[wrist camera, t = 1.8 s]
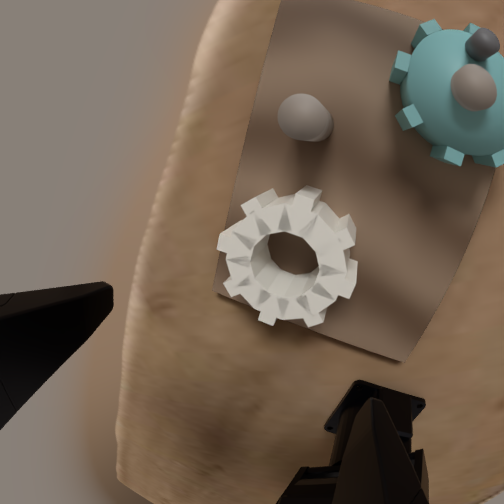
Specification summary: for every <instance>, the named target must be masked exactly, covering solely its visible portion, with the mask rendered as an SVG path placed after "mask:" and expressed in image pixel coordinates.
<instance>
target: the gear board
mask: <svg viewBox="0 0 504 504" xmlns="http://www.w3.org/2000/svg"><path fill="white" fill-rule="evenodd" d="M422 23H425V22H423V21H420V20H418V19H415V18H412V17H409V16H406V15H403V14H400V13H397V12H394V11H391V10H388V9H384V8H381V7H377V6H374V5H370V4H366V3H362V2H358V1H354V0H281V3H280V6H279V10H278V13H277V17H276V21H275V24H274V28H273V32H272V35H271V39H270V43H269V46H268V50H267V54H266V58H265V62H264V65H263V69H262V73H261V77H260V81H259V85H258V89H257V93H256V97H255V101H254V105H253V109H252V113H251V117H250V121H249V125H248V129H247V133H246V138H245V142H244V146H243V150H242V154H241V159H240V163H239V167H238V172H237V176H236V181H235V185H234V189H233V194H232V198H231V203H230V207H229V212H228V217H227V221H226V226H225V230H226V229H228V228H229V227H231V226H233V225H234V224H236V223H237V222H239V221H240V220H244V219H245V218H246V217H247V216H246V214H245V212H244V211H243V209H242V207H241V205H242V204H244V203H245V202H247V201H249V200H251V199H252V198H254V197H256V196H258V195H260V194H262V193H264V192H266V191H268V190H270V189H272V188H273V189H274V191H275V192H276V194H277V196H278V198H279V197H283V196H288V195H293V194H296V193H297V192H298V191H299V190H301V189H302V188H304V187H305V186H306V185H308V186H311V187H314V188H317V189H320V190H322V193H321V197H320V200H319V201H322V202H325V203H326V204H327V205H328V206H329V207H330V208H331V210H332V211H333V212H334V213H335V214H336V215H337V216H338V217H339V218H341V217H343V216H346V215H348V214H350V216H351V218H352V221H353V223H354V225H355V227H356V239H355V245H354V246H352V247H350V248H349V249H350V257H349V258H350V259H352V260H355V261H358V264H357V278H356V285H355V287H354V290H353V292H352V294H351V296H350V299H348V298H345V297H342V296H339V295H338V297H337V299H336V301H335V302H333V303H332V304H331V305H329V306H328V307H327V310H326V314H325V318H324V322H323V323H320V324H317V325H314V326H311V327H308V326H307V325H306V323H305V321H304V319H303V318H300V319H289V320H286V321H289V322H291V323H294V324H297V325H299V326H302V327H305V328H307V329H310V330H313V331H315V332H318V333H321V334H323V335H326V336H329V337H332V338H334V339H337V340H340V341H343V342H345V343H348V344H351V345H354V346H357V347H360V348H362V349H365V350H368V351H371V352H374V353H377V354H380V355H383V356H386V357H389V358H392V359H395V360H398V361H401V362H404V363H405V361H406V360H407V358H408V357H409V355H410V354H411V352H412V350H413V349H414V347H415V346H416V344H417V342H418V341H419V339H420V338H421V336H422V334H423V333H424V331H425V329H426V328H427V326H428V324H429V322H430V321H431V319H432V317H433V315H434V314H435V312H436V310H437V308H438V306H439V304H440V303H441V301H442V299H443V297H444V295H445V293H446V291H447V289H448V287H449V285H450V283H451V281H452V279H453V277H454V275H455V273H456V271H457V269H458V267H459V264H460V262H461V260H462V258H463V256H464V253H465V251H466V249H467V246H468V244H469V242H470V239H471V237H472V234H473V232H474V229H475V227H476V224H477V222H478V219H479V216H480V214H481V211H482V208H483V205H484V203H485V200H486V197H487V194H488V191H489V188H490V184H491V181H492V178H493V175H494V171H495V168H496V167H491V166H486V165H482V164H477V163H475V162H474V160H473V157H472V155H467V154H464V158H463V161H462V165H461V166H456V165H452V164H448V163H444V162H442V161H439V160H437V159H435V158H433V157H430V153H431V149H432V146H433V145H432V144H430V143H429V142H427V141H426V140H425V139H424V138H423V137H422V136H421V135H420V134H419V133H418V132H417V131H416V130H415V128H414V127H412V128H410V129H407V130H404V131H403V130H402V128H401V126H400V124H399V123H398V121H397V119H396V117H395V115H396V114H397V113H398V112H399V111H400V110H402V109H403V105H402V100H401V94H400V85H399V84H396V83H393V82H390V81H389V78H390V74H391V70H392V66H393V63H394V60H395V58H396V55H397V52H398V50H399V51H402V52H405V53H407V54H410V55H412V53H413V52H414V50H415V49H414V47H413V46H412V45H411V42H412V40H413V38H414V36H415V34H416V32H417V29H418V27H419V25H420V24H422ZM442 30H443V29H442ZM451 91H452V94H453V96H454V98H455V100H456V101H457V102H458V103H459V104H460V105H461V106H462V107H463V108H465V109H467V110H469V111H480V110H484V109H488V108H490V107H491V106H492V105H493V104H494V103H495V101H496V98H497V88H496V84H495V82H494V80H493V78H492V76H491V75H490V74H489V73H488V72H487V71H486V70H485V69H484V68H482V67H481V66H478V65H476V64H467V65H464V66H463V67H461V68H460V69H459V70H458V71H456V72H455V73H454V74H453V76H452V78H451ZM225 230H224V231H225ZM267 245H268V249H269V252H270V256H271V259H272V260H273V261H274V262H275V263H276V264H277V265H278V267H279V268H280V269H281V270H284V271H286V272H289V273H292V274H294V275H299V274H306V273H311V272H312V271H313V270H315V269H316V268H317V267H318V266H319V265H318V260H317V256H316V252H315V251H314V250H313V249H312V247H311V246H310V245H309V244H308V243H307V242H306V241H305V240H304V239H303V238H302V237H299V236H296V235H294V234H291V233H288V232H285V231H284V232H278V233H273V234H270V236H269V240H268V243H267ZM226 255H227V253H225V252H222V251H220V254H219V259H218V264H217V269H216V274H215V279H214V284H213V289H212V291H214V292H217V293H219V294H222V295H224V296H226V297H229V298H231V299H234V300H236V301H238V302H241V303H243V304H246V305H248V306H251V305H250V304H249V303H248V301H247V300H246V299H245V298H244V297H243V296H242V295H241V294H238V295H236V296H233V297H231V296H230V294H229V293H228V291H227V289H226V288H225V286H224V284H223V283H224V282H225V281H226V280H227V279H228V278H229V277H230V276H231V275H230V272H229V269H228V266H227V262H226ZM251 307H252V306H251Z"/></svg>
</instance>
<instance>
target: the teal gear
mask: <svg viewBox="0 0 504 504" xmlns="http://www.w3.org/2000/svg"><path fill="white" fill-rule="evenodd" d="M411 45H412V46H413V47H414V49H415V50H414V52H413V53H412V55H410V54H407V53H405V52H402V51H399V50H398V52H397V55H396V58H395V60H394V63H393V66H392V70H391V74H390V78H389V81H390V82H393V83H396V84H399V85H400V94H401V100H402V105H403V109H402V110H400V111H399V112H398V113H397V114H396V115H395V117H396V119H397V121H398V123H399V124H400V126H401V128H402V130H403V131H404V130H407V129H410V128H412V127H414V128H415V130H416V131H417V132H418V133H419V134H420V135H421V136H422V137H423V138H424V139H425V140H426V141H427V142H429V143H430V144H432V145H433V146H432V149H431V153H430V157H433V158H435V159H437V160H439V161H442V162H444V163H448V164H452V165H456V166H461V165H462V161H463V158H464V154H467V155H472V157H473V160H474V162H475V163H477V164H482V165H486V166H491V167H498V166H500V165H502V164H504V58H503V57H502V55H501V54H500V53H499V52H498V51H499V49H500V44H499V40H498V38H497V37H496V35H495V34H494V33H493V32H492V31H490V30H489V29H486V28H480V27H478V26H476V25H474V24H472V23H470V24H469V25H468V26H467V27H466V28H465V29H464V30H463V31H460V30H442V29H441V28H440V26H439V25H438V23H437V22H436V21H435V19H433V20H430V21H428V22H425V23H422V24H420V25H419V27H418V29H417V32H416V34H415V36H414V38H413V40H412V42H411ZM467 64H476V65H478V66H481V67H482V68H484V69H485V70H486V71H487V72H488V73H489V74H490V75H491V76H492V78H493V80H494V82H495V84H496V88H497V98H496V101H495V103H494V104H493V105H492V106H491V107H490V108H488V109H484V110H480V111H469V110H467V109H465V108H463V107H462V106H461V105H460V104H459V103H458V102H457V101H456V100H455V98H454V96H453V94H452V91H451V78H452V76H453V74H454V73H455V72H456V71H458V70H459V69H460V68H461V67H463V66H464V65H467Z"/></svg>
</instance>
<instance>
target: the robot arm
mask: <svg viewBox="0 0 504 504" xmlns="http://www.w3.org/2000/svg"><path fill="white" fill-rule="evenodd" d="M113 305H114V303H113V287H112V286H111V285H109V284H108V283H106V282H103V281H102V282H94V283H87V284H79V285H73V286H64V287H57V288H49V289H42V290H34V291H27V292H18V293H10V294H2V295H0V430H1V429H2V428H3V427H4V425H5V424H6V423H7V422H8V421H9V420H10V419H11V418H12V417H13V416H14V415H15V414H16V412H17V411H18V410H19V409H20V408H21V407H22V406H23V405H24V404H25V403H26V402H27V401H28V399H29V398H30V397H31V396H32V395H33V394H34V393H35V392H36V391H37V390H38V389H39V388H40V387H41V386H42V385H43V383H45V382H46V381H47V380H48V379H49V378H50V377H51V376H52V374H54V372H55V371H57V370H58V368H59V367H60V366H61V365H62V364H63V363H64V362H65V361H66V360H67V359H68V358H69V357H70V356H71V355H72V354H73V353H74V352H76V351H77V349H79V348H80V347H81V345H83V344H84V342H86V341H87V340H88V338H89V337H90V336H91V335H92V334H93V333H94V331H95V330H96V329H97V328H98V326H99V325H100V324H101V323H102V322H103V320H104V319H105V318H106V317H107V316H108V315H109V313H110V312H111V311H112V309H113ZM357 386H361V387H357ZM418 404H420V405H418ZM425 406H426V403H425V400H424V399H423V398H419V397H415V396H412V395H408V394H405V393H402V392H398V391H395V390H391V389H388V388H385V387H382V386H378V385H375V384H372V383H369V382H366V381H363V380H357V381H355V382H354V383H353V384H352V386H351V387H350V389H349V390H348V392H347V393H346V395H345V396H344V398H343V399H342V401H341V402H340V404H339V405H338V406H337V408H336V409H335V411H334V412H333V413H332V415H331V416H330V418H329V419H328V420H327V422H326V423H325V427H324V429H325V430H326V431H328V432H332V433H335V434H336V437H335V441H334V446H333V450H332V455H331V459H330V463H329V466H324V467H311V468H309V467H301V468H300V469H299V471H298V472H297V474H296V475H295V477H294V478H293V480H292V481H291V483H290V484H289V486H288V487H287V488H286V490H285V491H284V493H283V494H282V495H281V497H280V498H279V500H278V501H277V503H276V504H429V480H428V472H427V466H426V461H425V456H424V450H423V449H420V450H416V451H415V452H412V453H411V438H412V436H413V426H412V421H413V420H414V419H415V418H416V417H417V416H418V415H419V413H420V412H421V411H422V410H423V409H424V408H425Z"/></svg>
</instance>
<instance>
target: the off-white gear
mask: <svg viewBox="0 0 504 504" xmlns="http://www.w3.org/2000/svg"><path fill="white" fill-rule="evenodd" d="M321 193H322V190H320V189H317V188H314V187H311V186H308V185H306V186H305V187H304V188H302V189H301V190H299V191H298V192H297V193H296V194H293V195H288V196H283V197H279V198H278V196H277V194H276V192H275V191H274V189H273V188H272V189H270V190H268V191H266V192H264V193H262V194H260V195H258V196H256V197H254V198H252V199H251V200H249V201H247V202H245V203H244V204H242V205H241V207H242V209H243V211H244V212H245V214H246V216H247V217H246V218H245V219H244V220H240V221H239V222H237V223H236V224H234V225H233V226H231V227H229V228H228V229H226V230H225V231H223V232H222V233H220V235H219V240H218V245H217V250H219V251H222V252H225V253H227V255H226V262H227V266H228V269H229V272H230V275H231V276H230V277H229V278H228V279H227V280H226V281H225V282H224V283H223V284H224V286H225V288H226V289H227V291H228V293H229V294H230V296H231V297H233V296H236V295H238V294H241V295H242V296H243V297H244V298H245V299H246V300H247V301H248V303H249V304H250V305H251V306H252V307H253V308H254V309H256V310H258V311H261V312H260V315H259V318H258V320H259V321H262V322H264V323H267V324H269V325H272V326H274V324H275V322H276V320H277V318H279V319H281V320H289V319H300V318H303V319H304V321H305V323H306V325H307V326H308V327H311V326H314V325H317V324H320V323H323V322H324V318H325V314H326V310H327V307H328V306H329V305H331V304H332V303H333V302H335V301H336V299H337V297H338V295H339V296H342V297H345V298H348V299H350V296H351V294H352V292H353V290H354V287H355V285H356V278H357V264H358V261H355V260H352V259H350V258H349V257H350V249H349V248H350V247H352V246H354V245H355V239H356V227H355V225H354V223H353V221H352V218H351V216H350V214H348V215H346V216H343V217H341V218H339V217H338V216H337V215H336V214H335V213H334V212H333V211H332V210H331V208H330V207H329V206H328V205H327V204H326V203H325V202H322V201H319V200H320V197H321ZM284 231H285V232H288V233H291V234H294V235H296V236H299V237H302V238H303V239H304V240H305V241H306V242H307V243H308V244H309V245H310V246H311V247H312V249H313V250H314V251H315V252H316V256H317V260H318V265H319V266H318V267H317V268H316V269H315V270H313V271H312V272H311V273H306V274H299V275H294V274H292V273H289V272H286V271H284V270H281V269H280V268H279V267H278V265H277V264H276V263H275V262H274V261H273V260H272V259H271V256H270V252H269V249H268V245H267V243H268V240H269V236H270V234H273V233H278V232H284Z"/></svg>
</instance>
